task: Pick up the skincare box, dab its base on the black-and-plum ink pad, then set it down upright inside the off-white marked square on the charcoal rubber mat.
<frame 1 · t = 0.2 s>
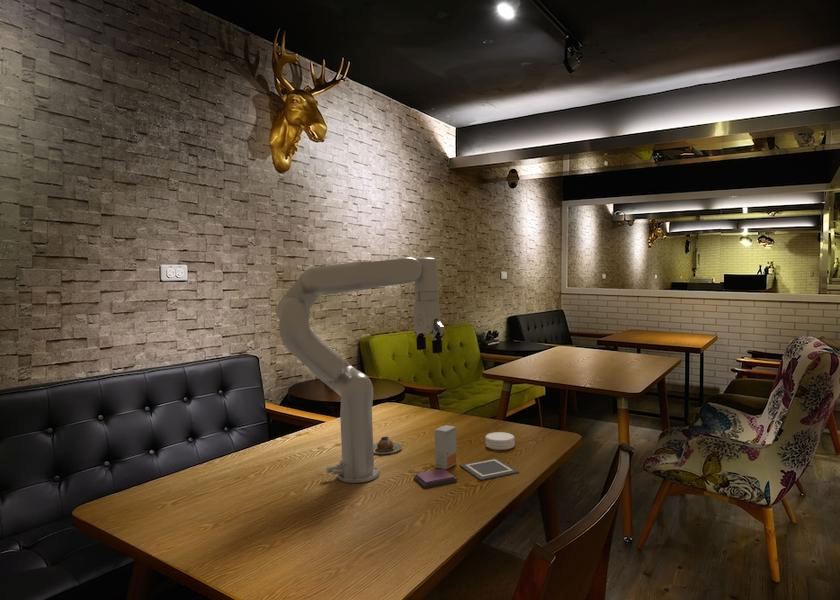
hand: (429, 351, 168), 36 cm above the table, tool pointing down, fingers open, 9 cm apart
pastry: (384, 451, 184), on the table
white round disc: (500, 446, 185), on the table
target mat: (488, 469, 162), on the table
ink pad: (435, 480, 155), on the table
skincare box: (446, 466, 167), on the table
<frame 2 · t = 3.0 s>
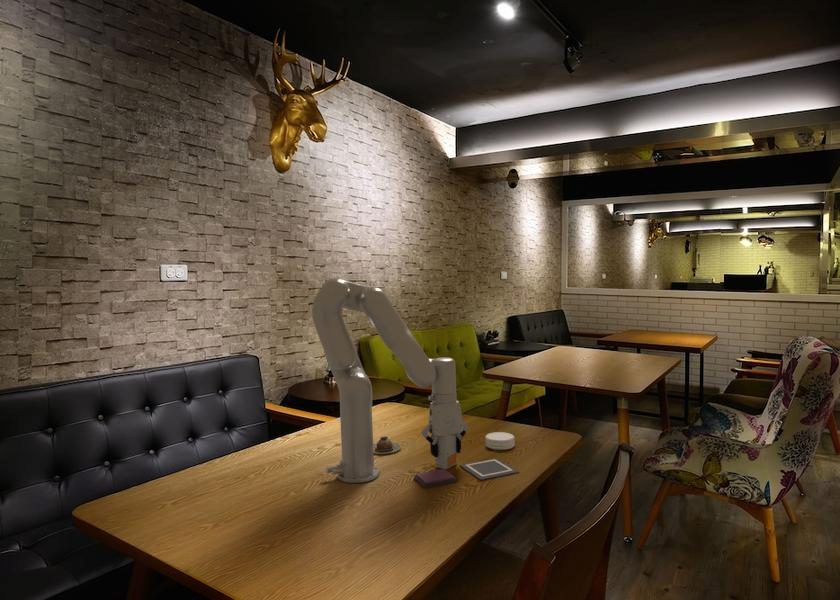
hand: (446, 453, 166), 4 cm above the table, tool pointing down, fingers closed on skincare box, 7 cm apart
skincare box: (446, 466, 167), on the table, touching gripper
everything else where it was.
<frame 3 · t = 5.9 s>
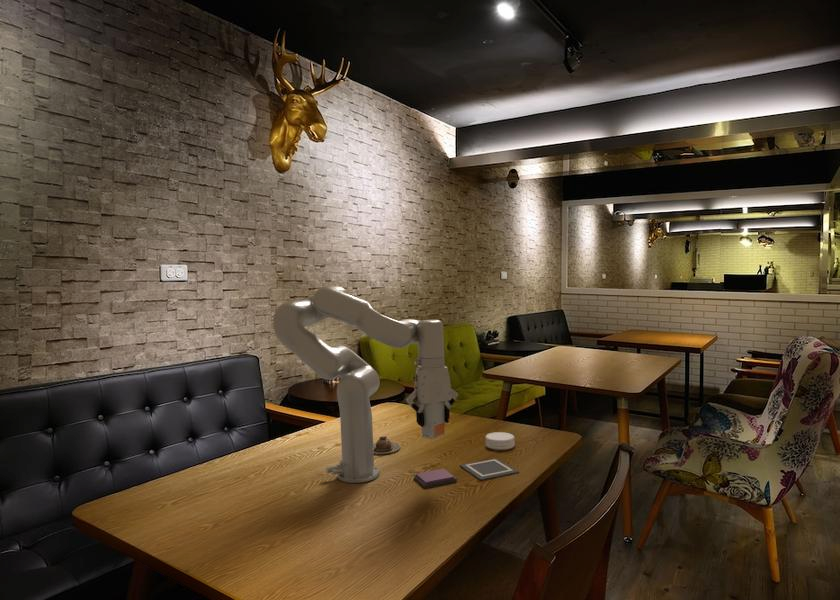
hand: (433, 423, 154), 17 cm above the table, tool pointing down, fingers closed on skincare box, 7 cm apart
skincare box: (433, 436, 154), point 13 cm above the table, touching gripper
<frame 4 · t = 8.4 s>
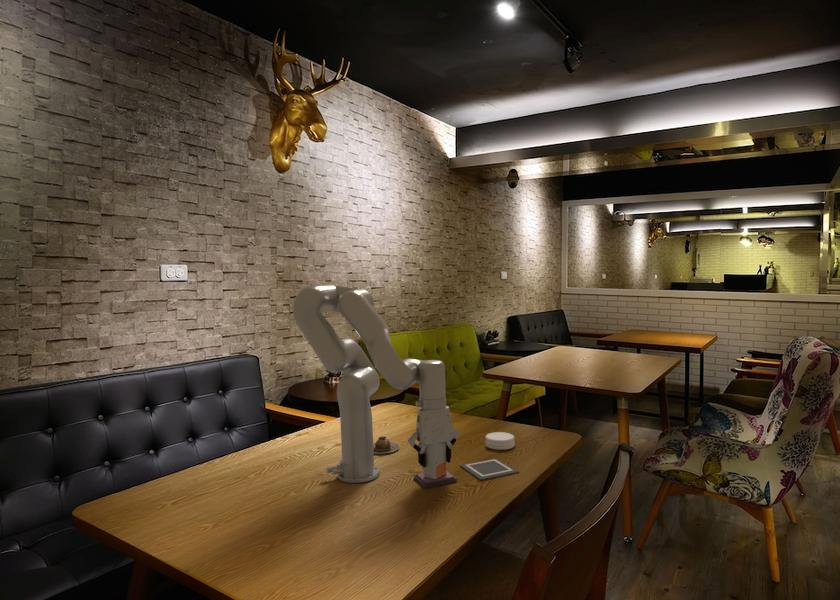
hand: (435, 463, 155), 5 cm above the table, tool pointing down, fingers closed on skincare box, 7 cm apart
skincare box: (435, 475, 155), point 1 cm above the table, touching gripper, ink pad
everything else where it was.
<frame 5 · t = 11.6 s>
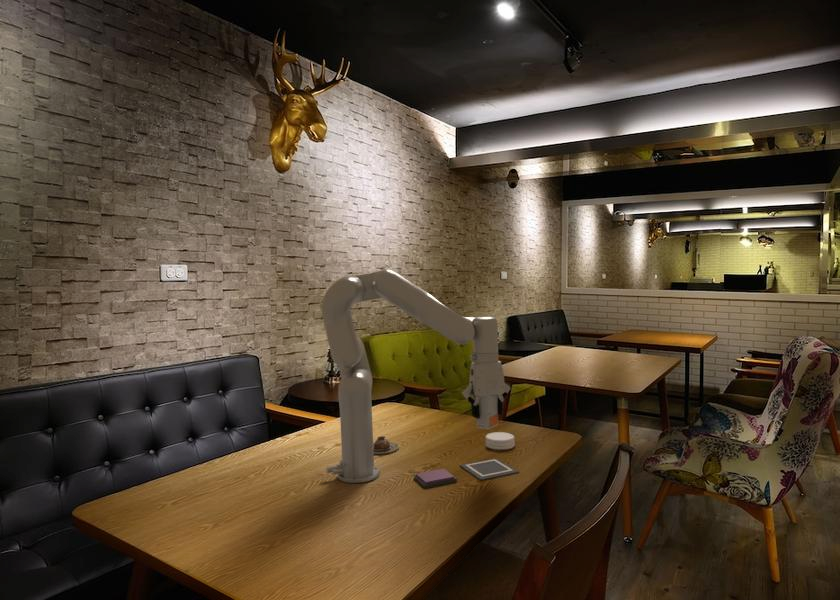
hand: (487, 415, 161), 17 cm above the table, tool pointing down, fingers closed on skincare box, 7 cm apart
skincare box: (487, 427, 161), point 13 cm above the table, touching gripper
when the fingers open (5 cm above the table, at t = 14.1 s): skincare box drops 1 cm, resting on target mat.
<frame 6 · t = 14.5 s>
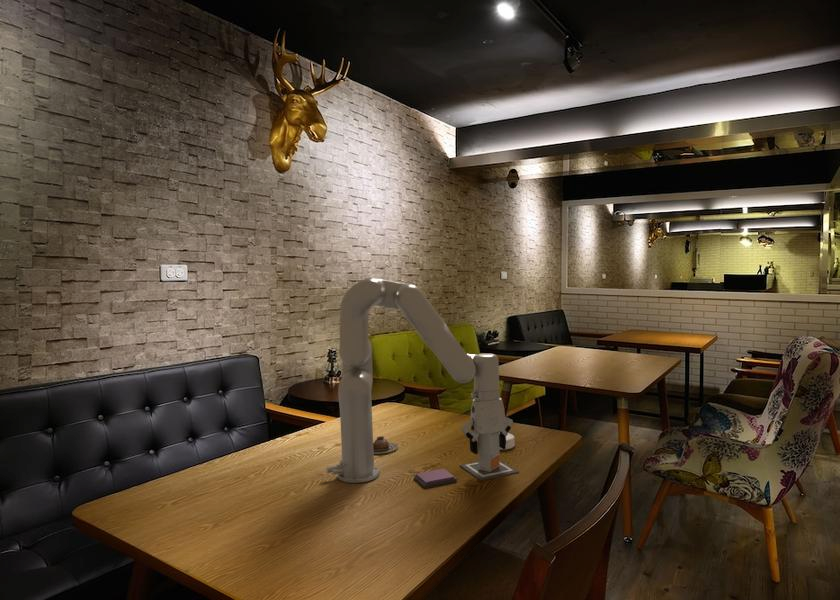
hand: (488, 450, 162), 6 cm above the table, tool pointing down, fingers open, 9 cm apart
skincare box: (489, 468, 162), resting on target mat
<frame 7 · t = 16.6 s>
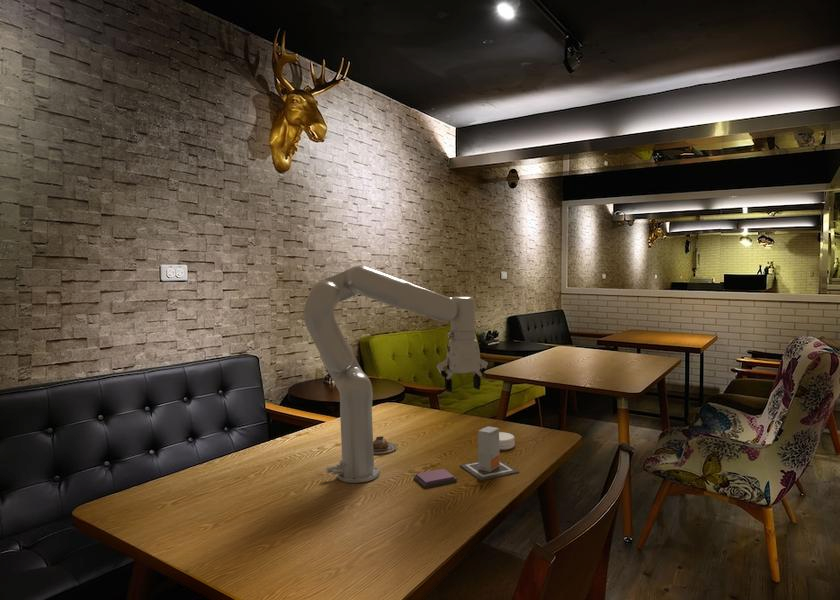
hand: (462, 389, 168), 23 cm above the table, tool pointing down, fingers open, 9 cm apart
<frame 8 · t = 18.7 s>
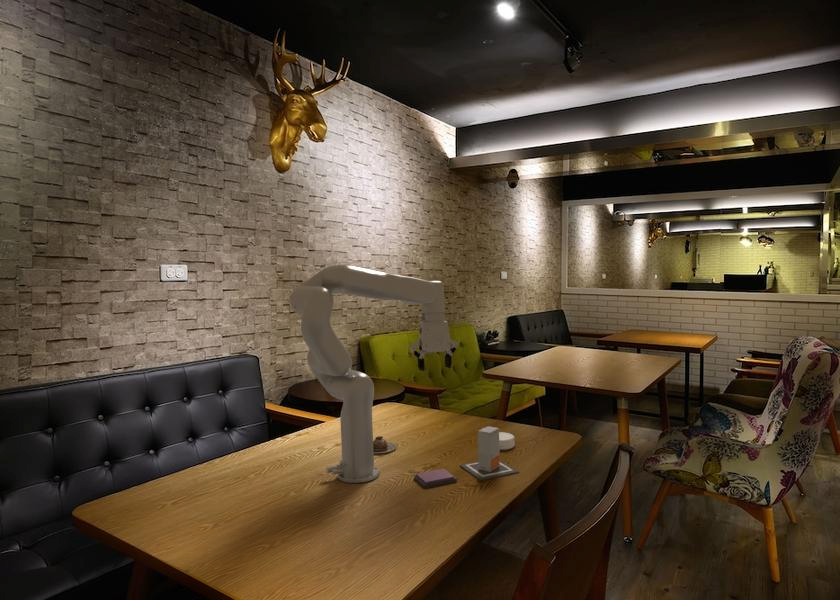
hand: (435, 368, 178), 28 cm above the table, tool pointing down, fingers open, 9 cm apart
at the end: skincare box inside the target area on the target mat (0.2 cm from its centre), point 0.2 cm above the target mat's base; skincare box tilted 0°; the gripper is holding nothing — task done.
